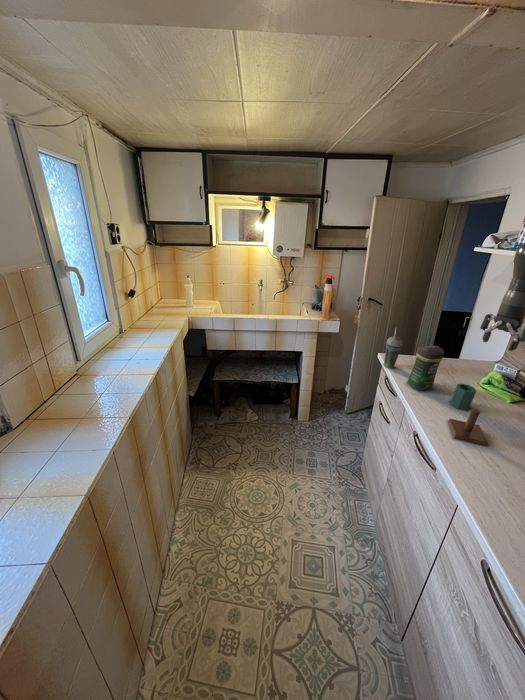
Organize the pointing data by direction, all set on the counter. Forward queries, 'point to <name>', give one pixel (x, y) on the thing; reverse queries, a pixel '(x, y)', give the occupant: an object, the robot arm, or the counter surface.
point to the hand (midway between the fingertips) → (497, 345)
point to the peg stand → (468, 429)
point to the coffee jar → (425, 367)
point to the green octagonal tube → (463, 396)
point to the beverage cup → (392, 350)
